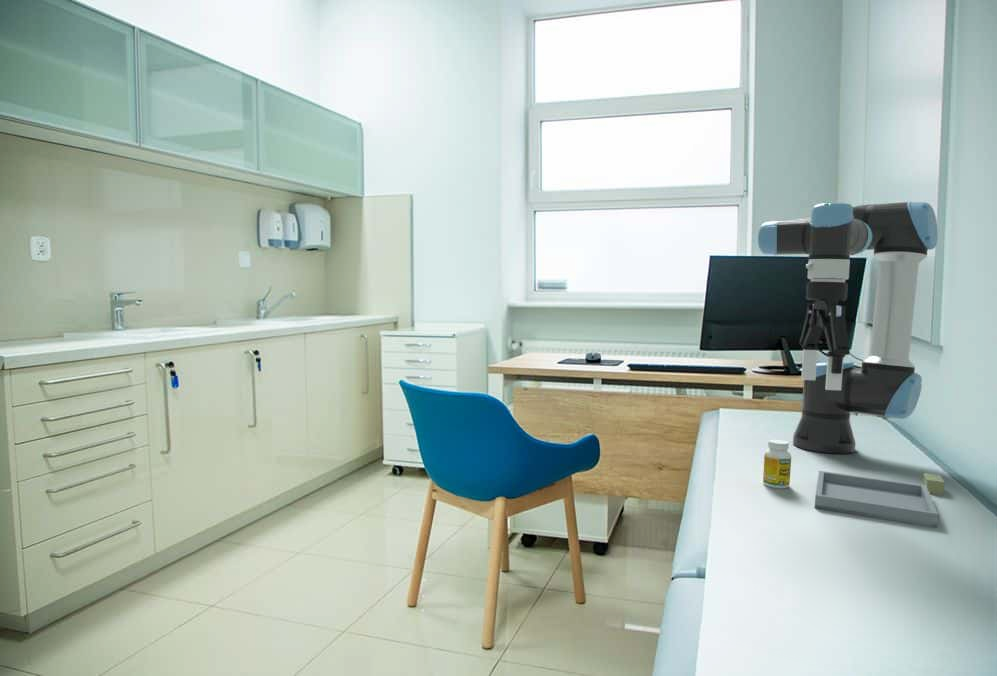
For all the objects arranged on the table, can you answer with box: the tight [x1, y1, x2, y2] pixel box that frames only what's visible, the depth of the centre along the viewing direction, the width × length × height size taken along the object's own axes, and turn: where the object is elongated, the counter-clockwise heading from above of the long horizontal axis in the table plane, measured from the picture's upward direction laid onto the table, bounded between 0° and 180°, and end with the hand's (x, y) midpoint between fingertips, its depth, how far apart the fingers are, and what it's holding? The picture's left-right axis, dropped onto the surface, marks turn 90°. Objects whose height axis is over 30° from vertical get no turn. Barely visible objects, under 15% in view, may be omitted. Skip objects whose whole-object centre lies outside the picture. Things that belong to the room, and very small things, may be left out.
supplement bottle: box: [762, 439, 792, 490], centre depth 144 cm, size 5×5×10 cm
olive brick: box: [922, 472, 945, 495], centre depth 144 cm, size 6×3×3 cm, turn 153°
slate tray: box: [814, 470, 939, 528], centre depth 135 cm, size 20×20×2 cm
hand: (820, 384), depth 138 cm, fingers open, 13 cm apart
